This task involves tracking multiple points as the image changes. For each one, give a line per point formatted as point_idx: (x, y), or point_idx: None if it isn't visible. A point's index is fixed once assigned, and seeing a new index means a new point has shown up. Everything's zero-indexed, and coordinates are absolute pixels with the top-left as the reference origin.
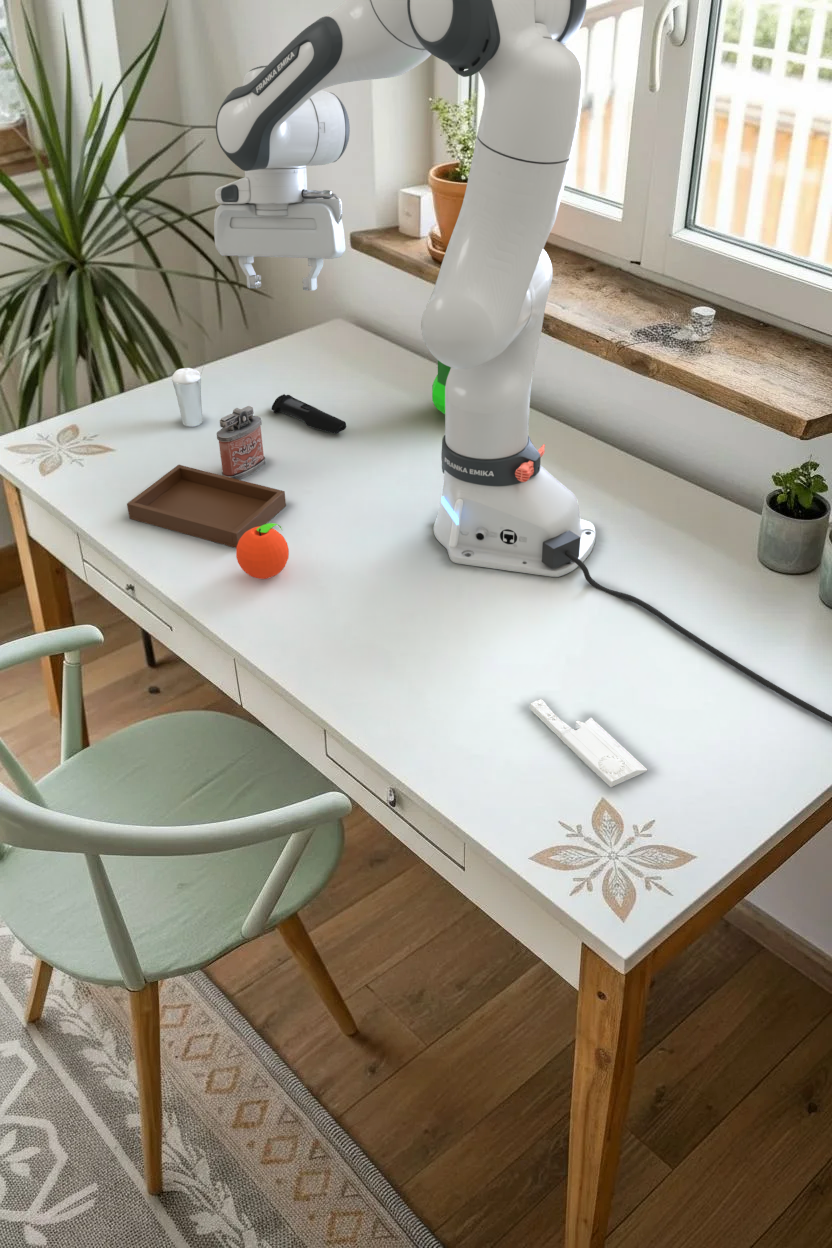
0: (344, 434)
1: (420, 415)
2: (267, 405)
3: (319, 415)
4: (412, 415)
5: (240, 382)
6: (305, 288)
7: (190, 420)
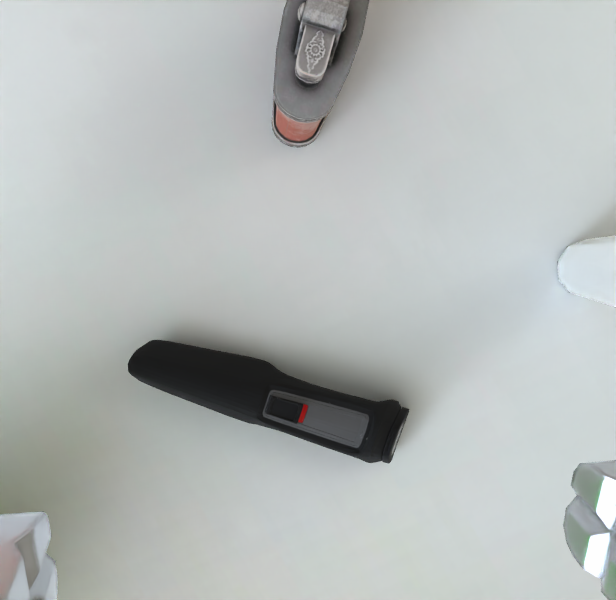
0: None
1: None
2: (438, 439)
3: (223, 377)
4: None
5: None
6: (6, 516)
7: (583, 242)
